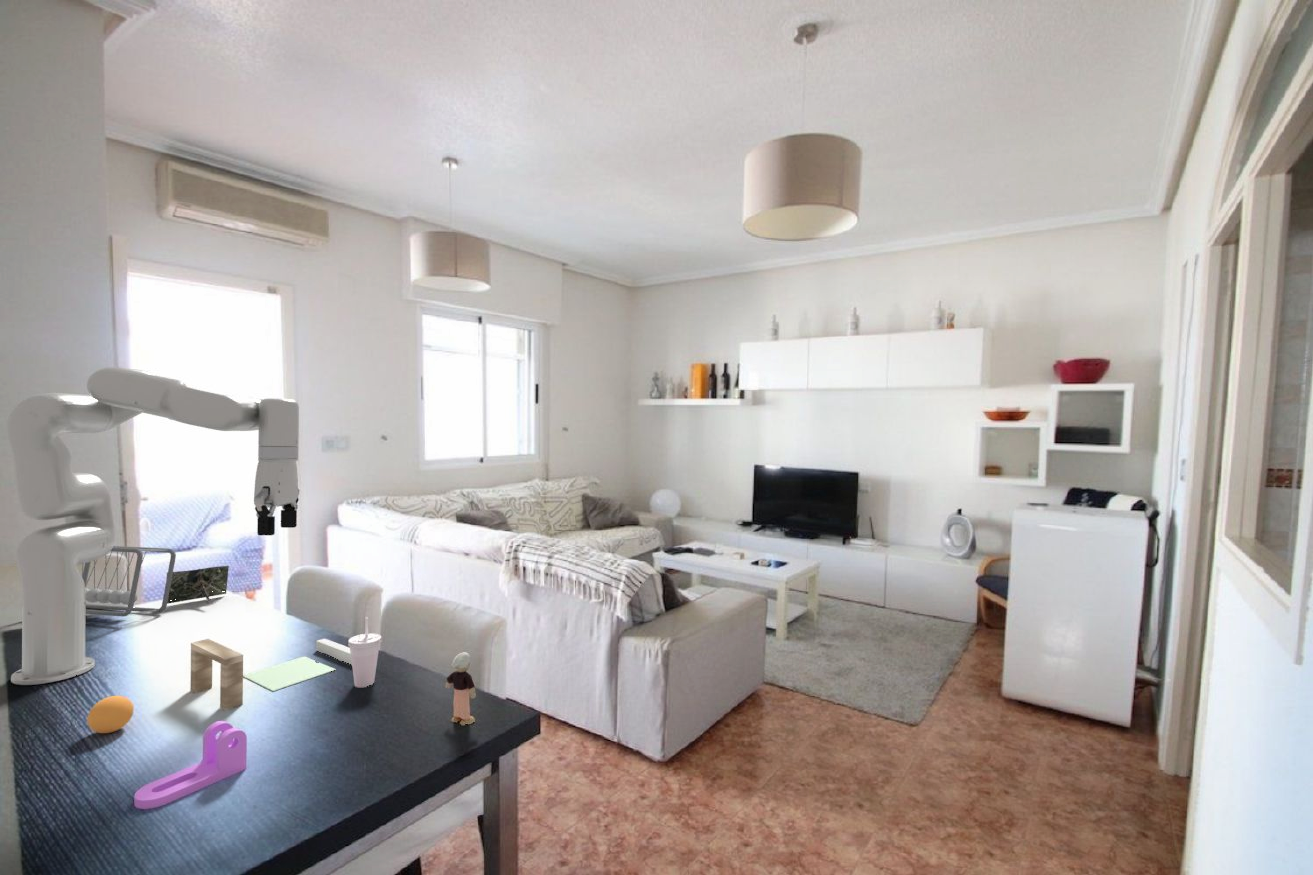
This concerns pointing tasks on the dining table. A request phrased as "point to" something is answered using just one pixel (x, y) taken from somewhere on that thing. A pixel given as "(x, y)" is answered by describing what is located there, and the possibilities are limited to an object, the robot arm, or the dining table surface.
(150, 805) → the bracket
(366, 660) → the smoothie
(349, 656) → the wall
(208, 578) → the dark piece
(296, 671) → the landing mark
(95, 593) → the newton's cradle
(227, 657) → the bridge
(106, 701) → the ball
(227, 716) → the dining table surface
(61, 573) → the robot arm
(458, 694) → the grandmother figurine
